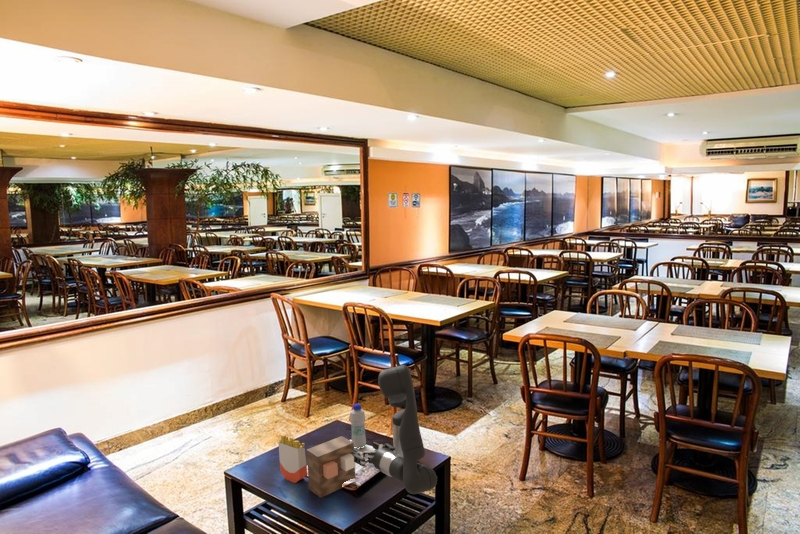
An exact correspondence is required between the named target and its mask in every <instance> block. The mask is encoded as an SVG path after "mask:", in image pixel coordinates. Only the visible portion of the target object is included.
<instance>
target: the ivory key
mask: <svg viewBox="0 0 800 534" xmlns="http://www.w3.org/2000/svg"><path fill="white" fill-rule="evenodd" d="M340 468H341V469H343V470H345V471H348V470H350V469H352V468H355V469H356V463H355V462H354V456H353V455H352V454H350V453H348V454H345V455H343V456H341V457H340Z"/></svg>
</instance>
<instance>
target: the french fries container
mask: <svg viewBox="0 0 800 534" xmlns="http://www.w3.org/2000/svg"><path fill="white" fill-rule="evenodd" d="M277 443H278V455H279V468H280V469H279V470H280V473H281V475H282V476H283V478H284V479H285V480H287V481H289V482H291V483H293V484H296V483H297V482H300V481H301V480H302V479H304V478H305V477H306V476H308V465H307V454H306V449H305V442H302V443H300V440H294V437H292V436H290V437H289V436H288V435H286V434H284V433H283V434H281V435H280V439H279V441H278V442H277Z"/></svg>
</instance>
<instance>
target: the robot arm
mask: <svg viewBox="0 0 800 534" xmlns="http://www.w3.org/2000/svg"><path fill="white" fill-rule="evenodd" d="M377 378H378V380H377V382H378V383H377V384H378V387H379V389H380V392H381V393H382V395H383V396H384V397H385V398H387V399H388V400H387V401H388V403H389V405H390V407H393V408H403V409H402V410H400V411H397V412H395V413H393V415H392V419H391V420H392V439H393V440H392V441H393V445H391V444H389V443H387V442H385V443H384V444H382V443H381V444H380V443H378V442H376V441H373V442H372V449H374V450H364V451H359V450H358V449H357V448H356V449H353V450H352V455H353V456H354V462H355V464H357V465H360V466H361V467H366V464H368V463H369V464H372V465H373V467H374V468H375V469H376V470H378V471H379V472H381V473H383V474H385V475H386V476H388V477H391V478H393V479H395V480H396V481H398V482H399V483H403V485H404V488H405V490H406V492H407V493H409V494H411V495H417V494H420V493H425V492H428V491H431V490H433V489H434V488H435V487H436V485H437V484H438V476H437V474H436V472H435V471H434V469H433V468H432V467H430V466H429V465H426V464H425V463H424V464H422V463H419V462H418V461H420V460H421V459H423V458H424V457H425V456H426V451H425V447H424V442H423V438H422V434H421V429H420V423H419V417H418V409H417V407H418V406H417V401H416V393H415V387H414V383H413V378H412V374H411V371H410V369H409V367H408V366H407V365H406V364H402V365H397V366H394V367H390V368H386V369H383V370H381V371H380V372H379V374H378V376H377Z"/></svg>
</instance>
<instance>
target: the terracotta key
mask: <svg viewBox="0 0 800 534" xmlns="http://www.w3.org/2000/svg"><path fill="white" fill-rule="evenodd" d="M337 475H338V467H337V463H335V462H334V461H332V460H331V461H329V462H326V463H324V464H322V476H324V477H325V478H327V479H330V478H332V477H334V476H337Z"/></svg>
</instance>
